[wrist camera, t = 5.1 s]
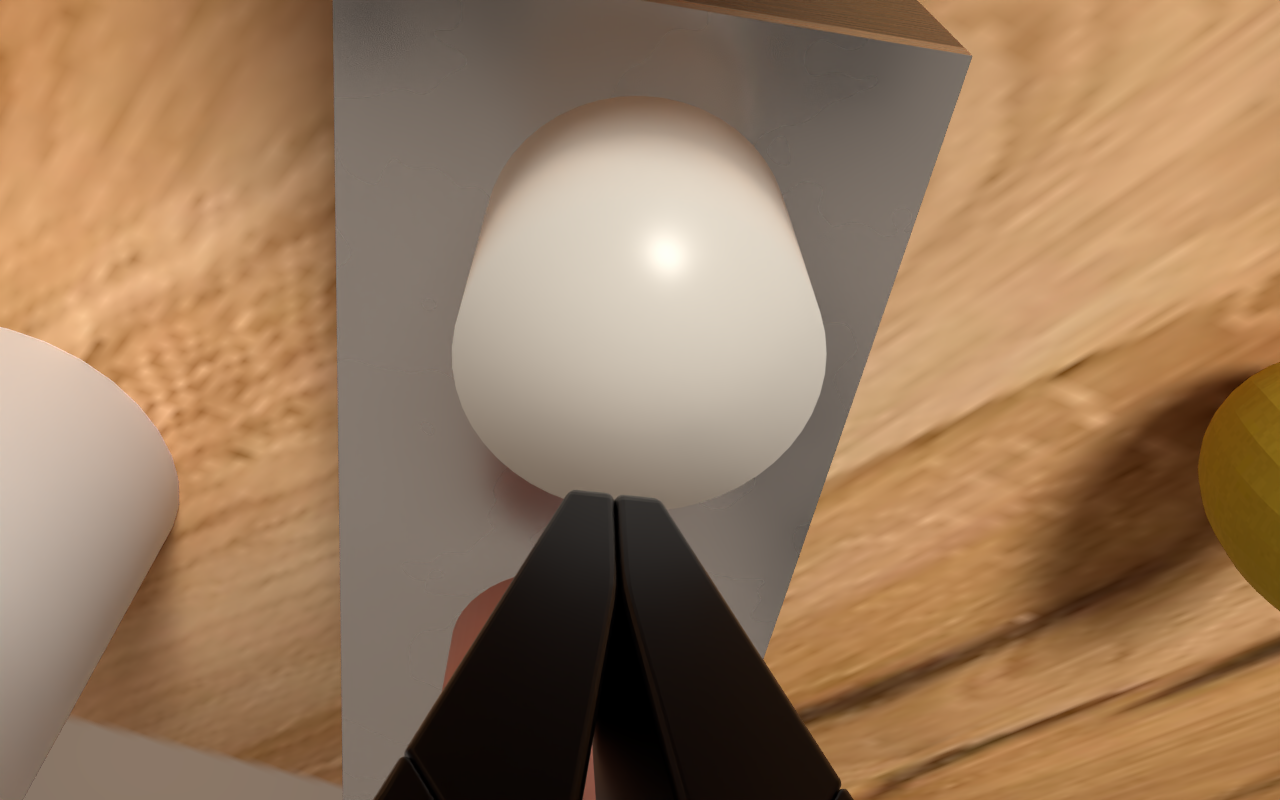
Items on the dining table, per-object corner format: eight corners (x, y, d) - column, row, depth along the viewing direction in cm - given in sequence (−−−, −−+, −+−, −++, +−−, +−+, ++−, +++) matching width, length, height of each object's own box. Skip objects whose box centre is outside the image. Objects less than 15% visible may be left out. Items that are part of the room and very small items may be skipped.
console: (683, 704, 30) (693, 861, 26) (382, 676, 29) (343, 834, 25) (894, -23, 18) (972, 55, 14) (400, -109, 17) (332, -52, 13)
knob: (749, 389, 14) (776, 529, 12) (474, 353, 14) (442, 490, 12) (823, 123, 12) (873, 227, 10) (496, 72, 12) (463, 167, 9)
